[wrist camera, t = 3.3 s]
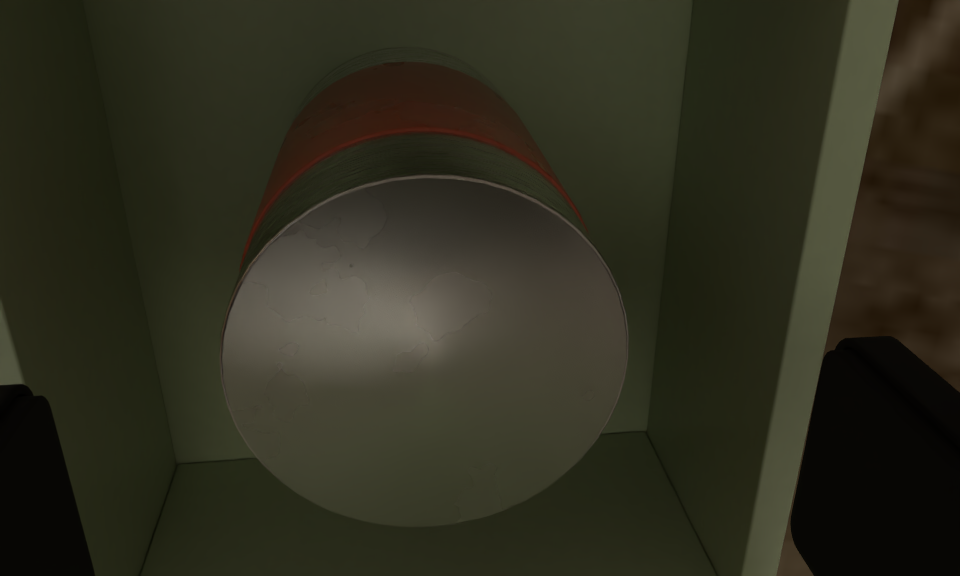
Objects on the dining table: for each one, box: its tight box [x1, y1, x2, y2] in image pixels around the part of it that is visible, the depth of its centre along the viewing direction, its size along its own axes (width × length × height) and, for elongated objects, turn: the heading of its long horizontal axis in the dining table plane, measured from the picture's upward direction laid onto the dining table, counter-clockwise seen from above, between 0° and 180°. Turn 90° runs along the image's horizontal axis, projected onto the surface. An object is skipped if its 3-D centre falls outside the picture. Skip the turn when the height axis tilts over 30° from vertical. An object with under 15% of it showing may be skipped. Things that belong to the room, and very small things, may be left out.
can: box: [219, 46, 629, 527], centre depth 15 cm, size 6×6×9 cm
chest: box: [0, 0, 899, 576], centre depth 17 cm, size 16×15×7 cm
